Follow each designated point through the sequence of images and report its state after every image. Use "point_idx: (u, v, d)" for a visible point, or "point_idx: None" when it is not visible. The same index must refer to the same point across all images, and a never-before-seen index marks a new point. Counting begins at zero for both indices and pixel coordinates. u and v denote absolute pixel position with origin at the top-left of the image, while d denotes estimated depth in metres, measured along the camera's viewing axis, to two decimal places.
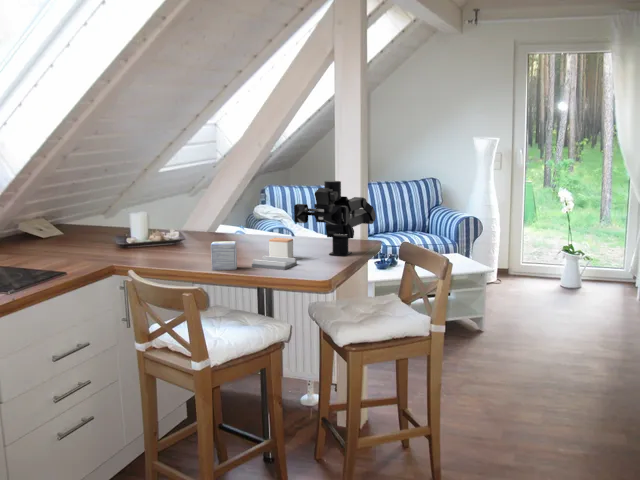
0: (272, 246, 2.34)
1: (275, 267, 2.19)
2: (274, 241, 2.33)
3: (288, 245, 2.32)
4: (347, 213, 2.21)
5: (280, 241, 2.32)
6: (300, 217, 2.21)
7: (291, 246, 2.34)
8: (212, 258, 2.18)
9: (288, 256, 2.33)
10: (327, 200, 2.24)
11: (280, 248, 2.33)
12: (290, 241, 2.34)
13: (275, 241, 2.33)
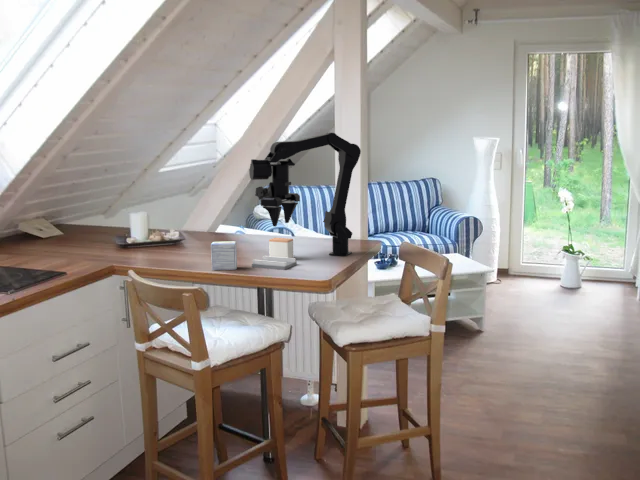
0: (272, 246, 2.34)
1: (275, 267, 2.19)
2: (274, 241, 2.33)
3: (288, 245, 2.32)
4: (266, 202, 2.24)
5: (280, 241, 2.32)
6: (287, 217, 2.37)
7: (291, 246, 2.34)
8: (212, 258, 2.18)
9: (288, 256, 2.33)
10: (266, 196, 2.32)
11: (280, 248, 2.33)
12: (290, 241, 2.34)
13: (275, 241, 2.33)
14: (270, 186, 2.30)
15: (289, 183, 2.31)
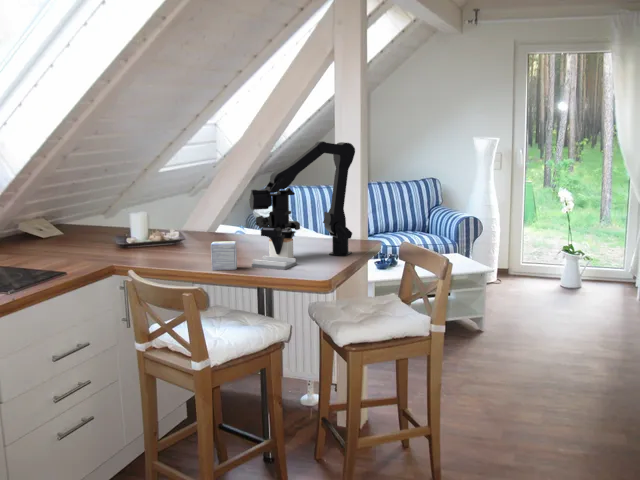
0: (272, 246, 2.34)
1: (275, 267, 2.19)
2: None
3: (288, 245, 2.32)
4: (266, 232, 2.26)
5: None
6: None
7: (291, 246, 2.34)
8: (212, 258, 2.18)
9: (288, 256, 2.33)
10: (266, 225, 2.34)
11: None
12: (290, 241, 2.33)
13: None
14: (270, 215, 2.32)
15: (289, 212, 2.33)
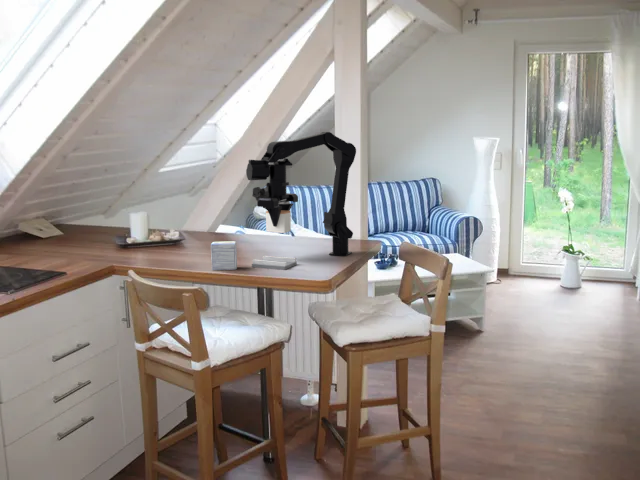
0: (269, 218, 2.29)
1: (275, 267, 2.19)
2: None
3: (285, 216, 2.28)
4: (262, 203, 2.21)
5: None
6: None
7: (288, 218, 2.30)
8: (212, 258, 2.18)
9: (285, 228, 2.28)
10: (263, 197, 2.29)
11: None
12: (287, 213, 2.29)
13: None
14: (267, 186, 2.28)
15: (286, 183, 2.28)
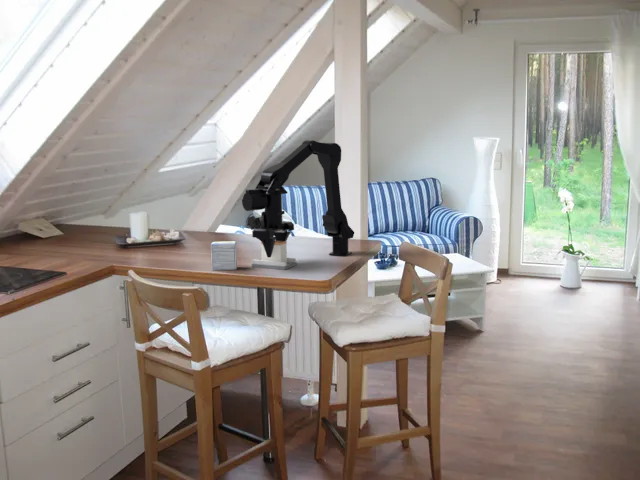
0: (264, 249, 2.23)
1: (275, 267, 2.19)
2: None
3: (281, 248, 2.21)
4: (258, 233, 2.15)
5: None
6: None
7: (284, 249, 2.23)
8: (212, 258, 2.18)
9: (281, 259, 2.22)
10: (258, 226, 2.23)
11: (273, 251, 2.21)
12: (283, 244, 2.22)
13: None
14: (262, 216, 2.21)
15: (282, 212, 2.21)
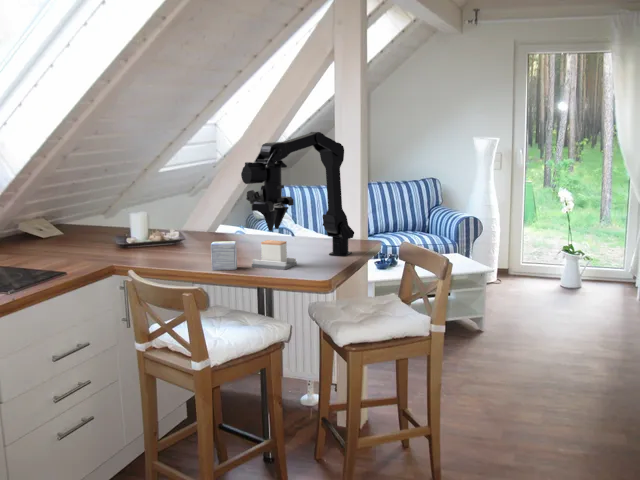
0: (264, 249, 2.23)
1: (275, 267, 2.19)
2: (266, 244, 2.22)
3: (281, 248, 2.21)
4: (257, 206, 2.13)
5: (273, 244, 2.21)
6: (277, 222, 2.24)
7: (284, 249, 2.23)
8: (212, 258, 2.18)
9: (281, 259, 2.22)
10: (258, 200, 2.21)
11: (273, 251, 2.21)
12: (283, 244, 2.22)
13: (267, 244, 2.22)
14: (262, 190, 2.19)
15: (282, 186, 2.20)
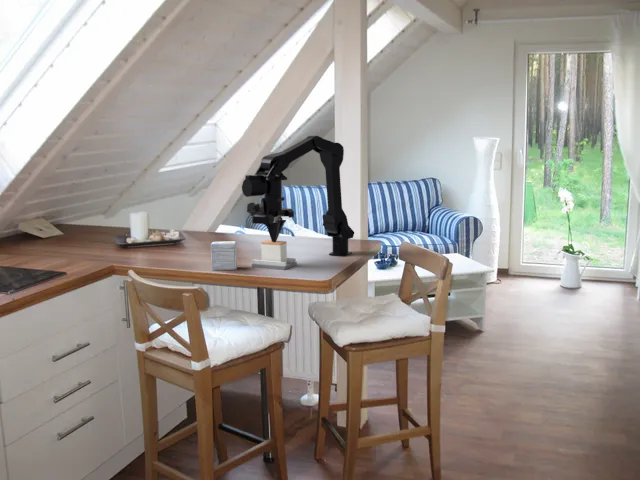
0: (264, 249, 2.23)
1: (275, 267, 2.19)
2: (266, 244, 2.22)
3: (281, 248, 2.21)
4: (257, 219, 2.14)
5: (273, 244, 2.21)
6: None
7: (284, 249, 2.23)
8: (212, 258, 2.18)
9: (281, 259, 2.22)
10: (258, 212, 2.22)
11: (273, 251, 2.21)
12: (283, 244, 2.22)
13: (267, 244, 2.22)
14: (262, 202, 2.20)
15: (282, 199, 2.21)
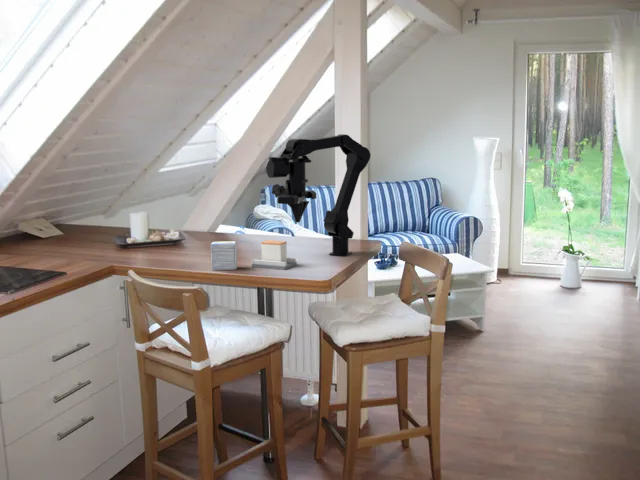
0: (264, 249, 2.23)
1: (275, 267, 2.19)
2: (266, 244, 2.22)
3: (281, 248, 2.21)
4: (283, 200, 2.22)
5: (273, 244, 2.21)
6: None
7: (284, 249, 2.23)
8: (212, 258, 2.18)
9: (281, 259, 2.22)
10: (282, 194, 2.31)
11: (273, 251, 2.21)
12: (283, 244, 2.22)
13: (267, 244, 2.22)
14: (287, 183, 2.29)
15: (306, 180, 2.29)
